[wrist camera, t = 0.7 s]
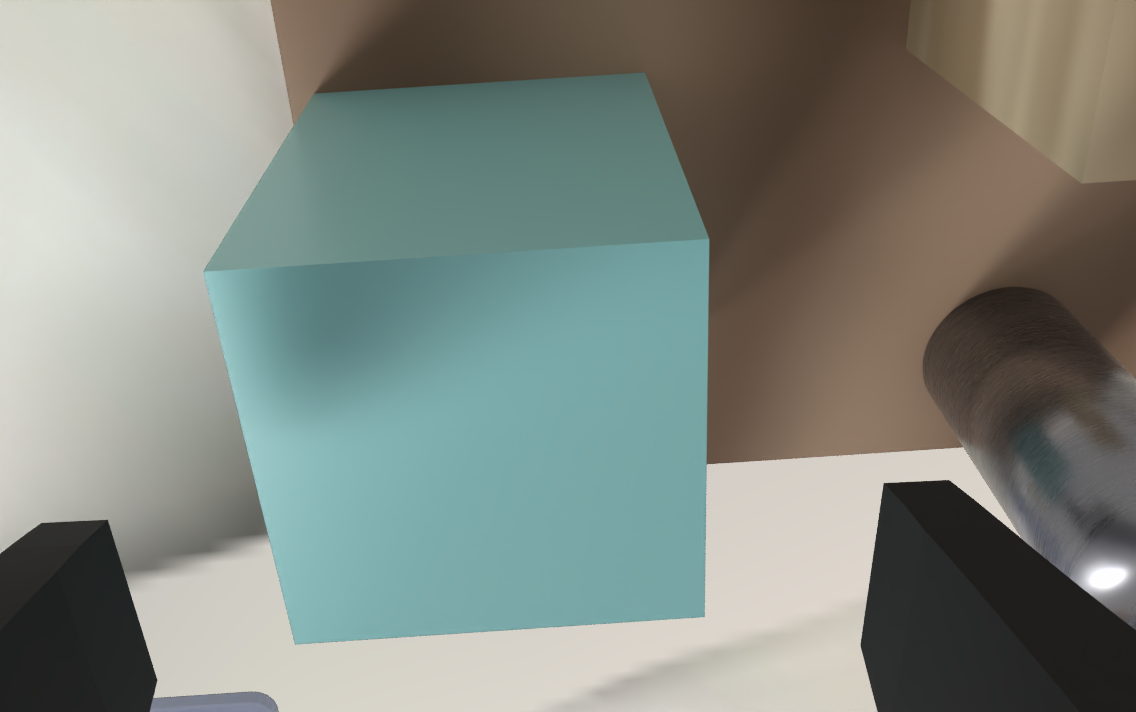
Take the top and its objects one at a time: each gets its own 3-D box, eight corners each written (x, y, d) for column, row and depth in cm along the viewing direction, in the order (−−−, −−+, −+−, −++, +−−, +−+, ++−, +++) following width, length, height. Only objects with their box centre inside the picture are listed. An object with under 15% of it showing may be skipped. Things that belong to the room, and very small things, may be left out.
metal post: (914, 424, 20) (1052, 659, 15) (931, 292, 19) (1088, 499, 14) (1061, 414, 20) (1249, 645, 15) (1089, 281, 19) (1307, 483, 14)
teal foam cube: (363, 378, 19) (294, 644, 13) (313, 93, 17) (202, 272, 11) (650, 359, 19) (704, 616, 13) (645, 72, 17) (709, 239, 11)
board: (367, 457, 21) (361, 487, 20) (245, -226, 15) (228, -226, 14) (1113, 407, 21) (1138, 435, 20) (1278, -291, 15) (1324, -293, 15)
